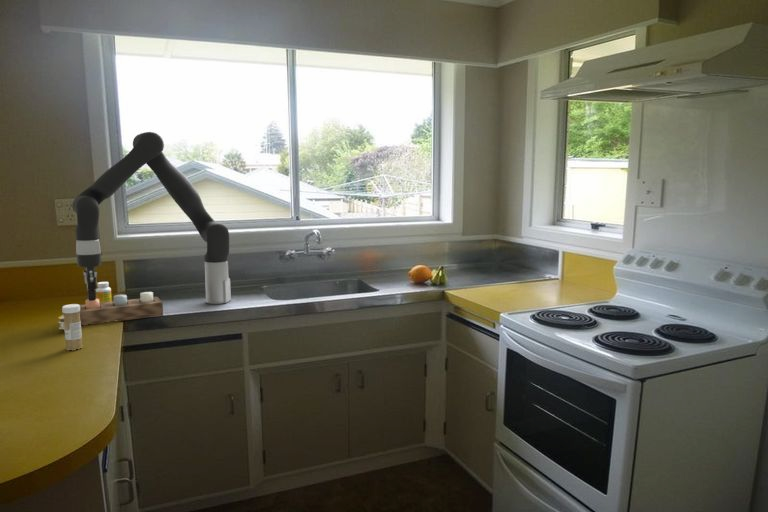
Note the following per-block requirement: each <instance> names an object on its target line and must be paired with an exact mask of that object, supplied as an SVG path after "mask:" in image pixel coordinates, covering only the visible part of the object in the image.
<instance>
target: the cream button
mask: <svg viewBox="0 0 768 512" xmlns="http://www.w3.org/2000/svg"><path fill="white" fill-rule="evenodd" d="M139 295H140V296H139V297H140V298H139V299H140V300H141V303H146V302H153V297H154V291H153V292H152V291H144V292H143V291H142V292H140V294H139Z"/></svg>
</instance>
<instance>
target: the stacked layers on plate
mask: <svg viewBox="0 0 768 512" xmlns="http://www.w3.org/2000/svg"><path fill="white" fill-rule="evenodd" d="M58 319H60V320H59V321H58V323H59V327H58V329H59V330H64V314H62V315H60V316H58Z"/></svg>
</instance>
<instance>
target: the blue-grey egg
mask: <svg viewBox="0 0 768 512" xmlns="http://www.w3.org/2000/svg"><path fill="white" fill-rule="evenodd" d="M112 297H113V301H114V306H119V305H127V300H128V296H127V294H116V295H113V296H112Z"/></svg>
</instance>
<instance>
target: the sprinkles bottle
mask: <svg viewBox="0 0 768 512" xmlns="http://www.w3.org/2000/svg"><path fill="white" fill-rule="evenodd" d="M80 305H81V304H78V303H71V304H65V305H63V306H62V308H61V311H62V315H64V329H63V330H64V340H65V351H69V350H72V351H77V350H76V349H78V350H81V349H82V348H83V346H84V345H83V339H82V338H83V336H82V335H83V334H82V333H83V332H82V326H81V321H80ZM80 348H81V349H80Z"/></svg>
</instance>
